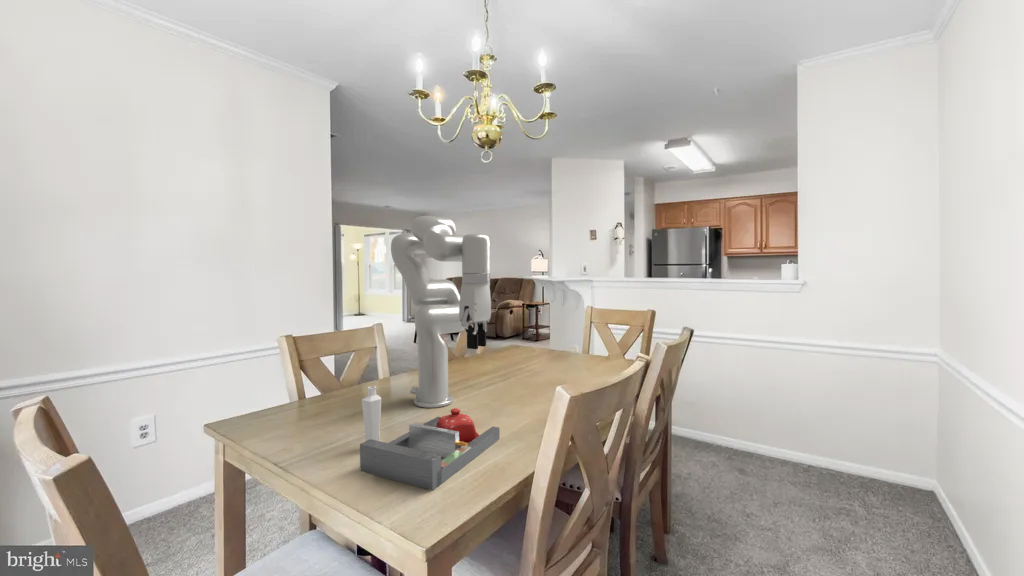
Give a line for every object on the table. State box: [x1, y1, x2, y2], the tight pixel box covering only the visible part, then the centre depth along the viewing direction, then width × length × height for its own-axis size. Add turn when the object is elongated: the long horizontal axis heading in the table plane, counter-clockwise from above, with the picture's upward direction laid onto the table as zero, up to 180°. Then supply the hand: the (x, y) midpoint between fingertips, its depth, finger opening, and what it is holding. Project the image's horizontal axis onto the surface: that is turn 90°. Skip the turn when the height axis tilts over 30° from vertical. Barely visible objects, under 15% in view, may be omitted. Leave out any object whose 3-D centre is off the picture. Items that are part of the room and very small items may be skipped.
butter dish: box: [436, 407, 480, 447], centre depth 111 cm, size 12×12×8 cm
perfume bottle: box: [361, 385, 382, 441], centre depth 106 cm, size 5×4×15 cm
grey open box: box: [359, 416, 500, 492], centre depth 103 cm, size 19×28×6 cm, turn 154°
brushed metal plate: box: [408, 422, 468, 459], centre depth 102 cm, size 16×2×6 cm, turn 64°
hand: (476, 346), depth 119 cm, fingers open, 3 cm apart
